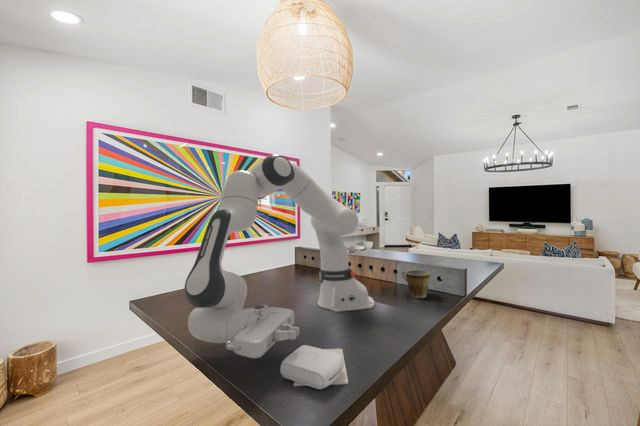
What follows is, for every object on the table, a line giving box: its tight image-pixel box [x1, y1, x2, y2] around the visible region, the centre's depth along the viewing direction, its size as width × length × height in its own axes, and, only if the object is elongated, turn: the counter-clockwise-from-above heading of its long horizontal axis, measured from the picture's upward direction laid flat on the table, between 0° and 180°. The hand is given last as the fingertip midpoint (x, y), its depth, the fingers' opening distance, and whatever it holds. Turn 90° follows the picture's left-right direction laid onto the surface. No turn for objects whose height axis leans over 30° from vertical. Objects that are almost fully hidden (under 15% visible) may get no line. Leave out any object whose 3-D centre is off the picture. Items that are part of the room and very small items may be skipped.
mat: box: [293, 348, 349, 387], centre depth 70 cm, size 12×15×1 cm
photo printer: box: [279, 344, 345, 390], centre depth 66 cm, size 10×4×12 cm
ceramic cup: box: [401, 269, 431, 299], centre depth 123 cm, size 13×10×10 cm
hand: (297, 333), depth 68 cm, fingers closed
